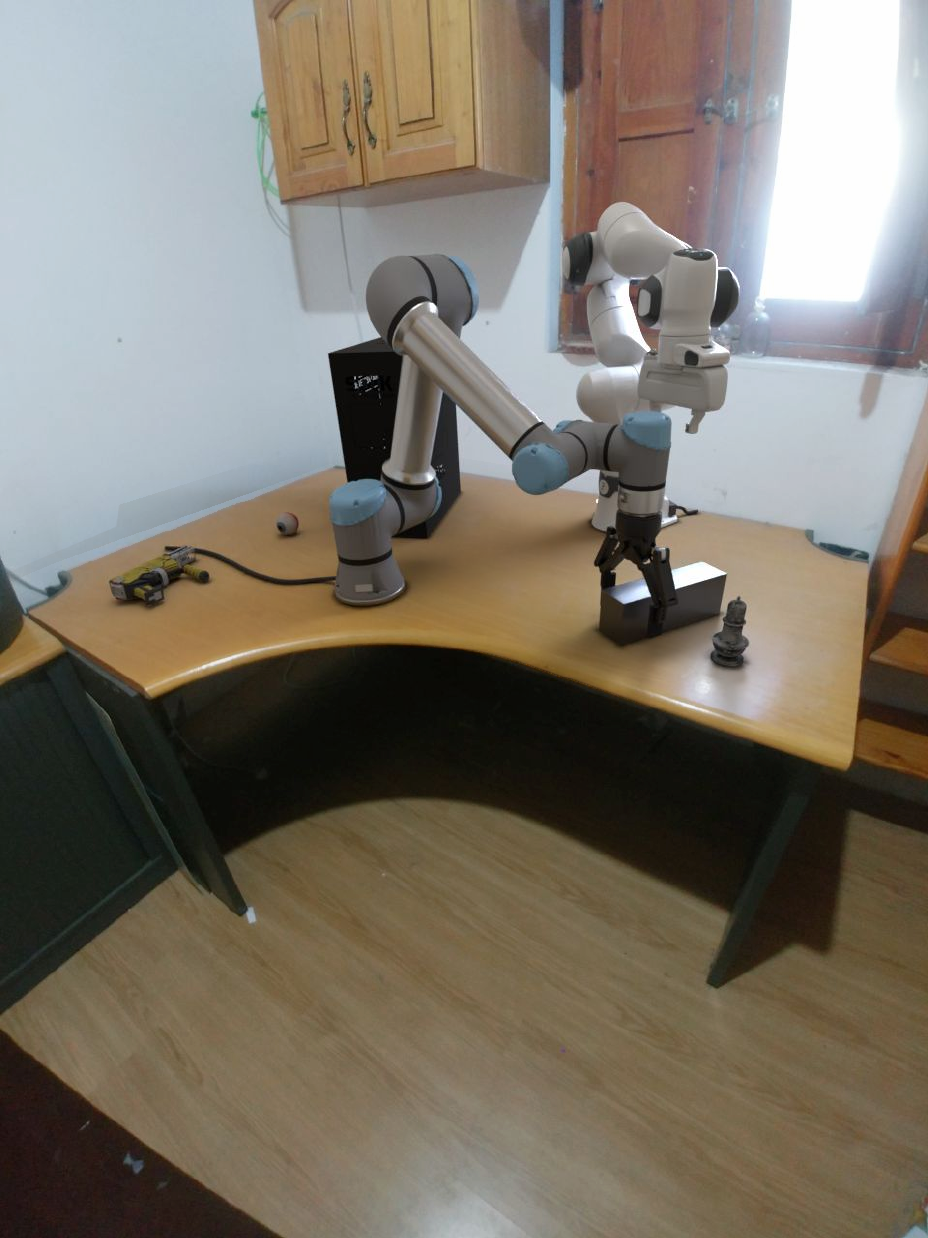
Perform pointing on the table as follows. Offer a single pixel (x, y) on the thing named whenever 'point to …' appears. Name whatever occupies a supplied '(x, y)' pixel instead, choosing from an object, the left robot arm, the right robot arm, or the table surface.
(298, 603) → the table surface
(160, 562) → the toy gun
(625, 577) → the table surface
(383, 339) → the left robot arm
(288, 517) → the eyeball
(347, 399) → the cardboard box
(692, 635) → the table surface
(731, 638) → the dark grey chess piece
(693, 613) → the box
